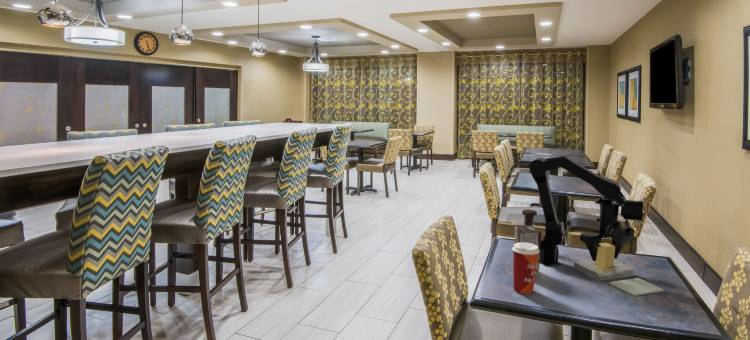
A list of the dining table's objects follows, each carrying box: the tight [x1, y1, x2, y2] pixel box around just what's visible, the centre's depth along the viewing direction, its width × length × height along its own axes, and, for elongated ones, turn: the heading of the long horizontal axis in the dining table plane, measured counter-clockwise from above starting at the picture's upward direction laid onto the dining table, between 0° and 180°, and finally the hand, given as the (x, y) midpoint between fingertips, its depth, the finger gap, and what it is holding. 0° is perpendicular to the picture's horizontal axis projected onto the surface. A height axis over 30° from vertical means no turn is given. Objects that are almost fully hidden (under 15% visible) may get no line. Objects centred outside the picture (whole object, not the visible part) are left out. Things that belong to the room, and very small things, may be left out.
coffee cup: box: [511, 242, 540, 295], centre depth 154 cm, size 8×8×15 cm
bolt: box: [521, 208, 537, 227], centre depth 197 cm, size 6×5×15 cm
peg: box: [596, 242, 615, 269], centre depth 170 cm, size 4×4×10 cm
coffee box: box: [513, 224, 542, 278], centre depth 169 cm, size 9×6×16 cm
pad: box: [609, 277, 664, 297], centre depth 158 cm, size 12×10×1 cm
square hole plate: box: [573, 259, 637, 282], centre depth 171 cm, size 16×12×2 cm
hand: (604, 259), depth 170 cm, fingers open, 9 cm apart
